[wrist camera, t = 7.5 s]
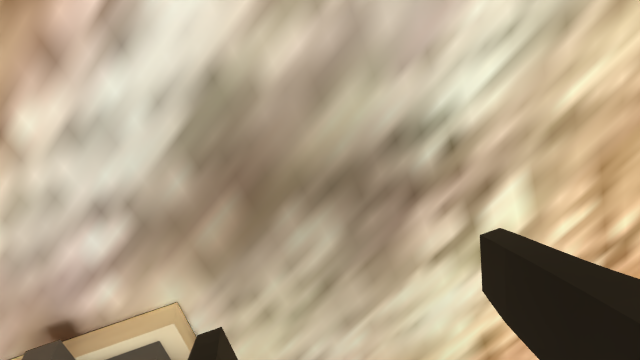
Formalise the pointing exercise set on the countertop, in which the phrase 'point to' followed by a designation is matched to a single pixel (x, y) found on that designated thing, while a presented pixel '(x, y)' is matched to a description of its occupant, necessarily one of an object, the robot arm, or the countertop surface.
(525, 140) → the countertop surface
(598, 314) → the robot arm
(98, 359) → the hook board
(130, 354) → the dark grey frame stand
